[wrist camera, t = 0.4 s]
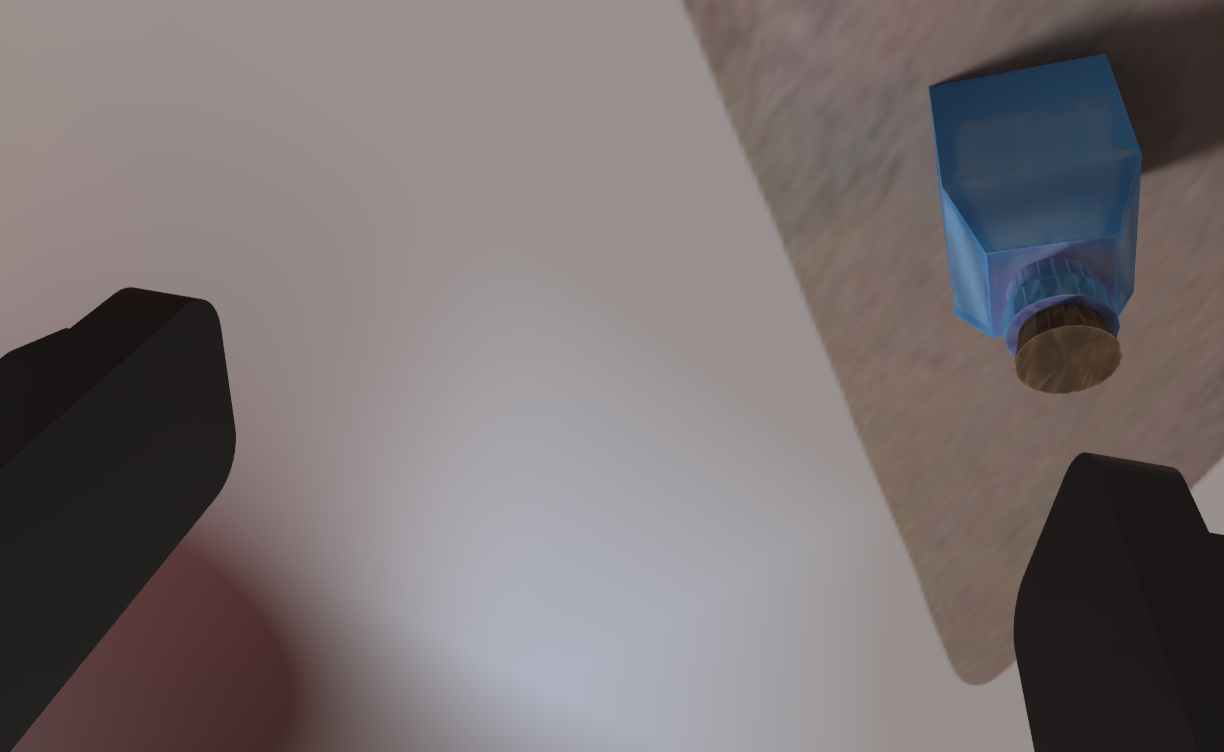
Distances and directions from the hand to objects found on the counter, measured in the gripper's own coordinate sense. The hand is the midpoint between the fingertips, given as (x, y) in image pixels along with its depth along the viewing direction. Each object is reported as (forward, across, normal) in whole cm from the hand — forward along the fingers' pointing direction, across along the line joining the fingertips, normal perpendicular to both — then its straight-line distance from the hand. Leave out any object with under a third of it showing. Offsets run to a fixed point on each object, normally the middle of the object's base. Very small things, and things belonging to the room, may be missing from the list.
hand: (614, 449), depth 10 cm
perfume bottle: (+34, -11, +7) cm, 36 cm away
